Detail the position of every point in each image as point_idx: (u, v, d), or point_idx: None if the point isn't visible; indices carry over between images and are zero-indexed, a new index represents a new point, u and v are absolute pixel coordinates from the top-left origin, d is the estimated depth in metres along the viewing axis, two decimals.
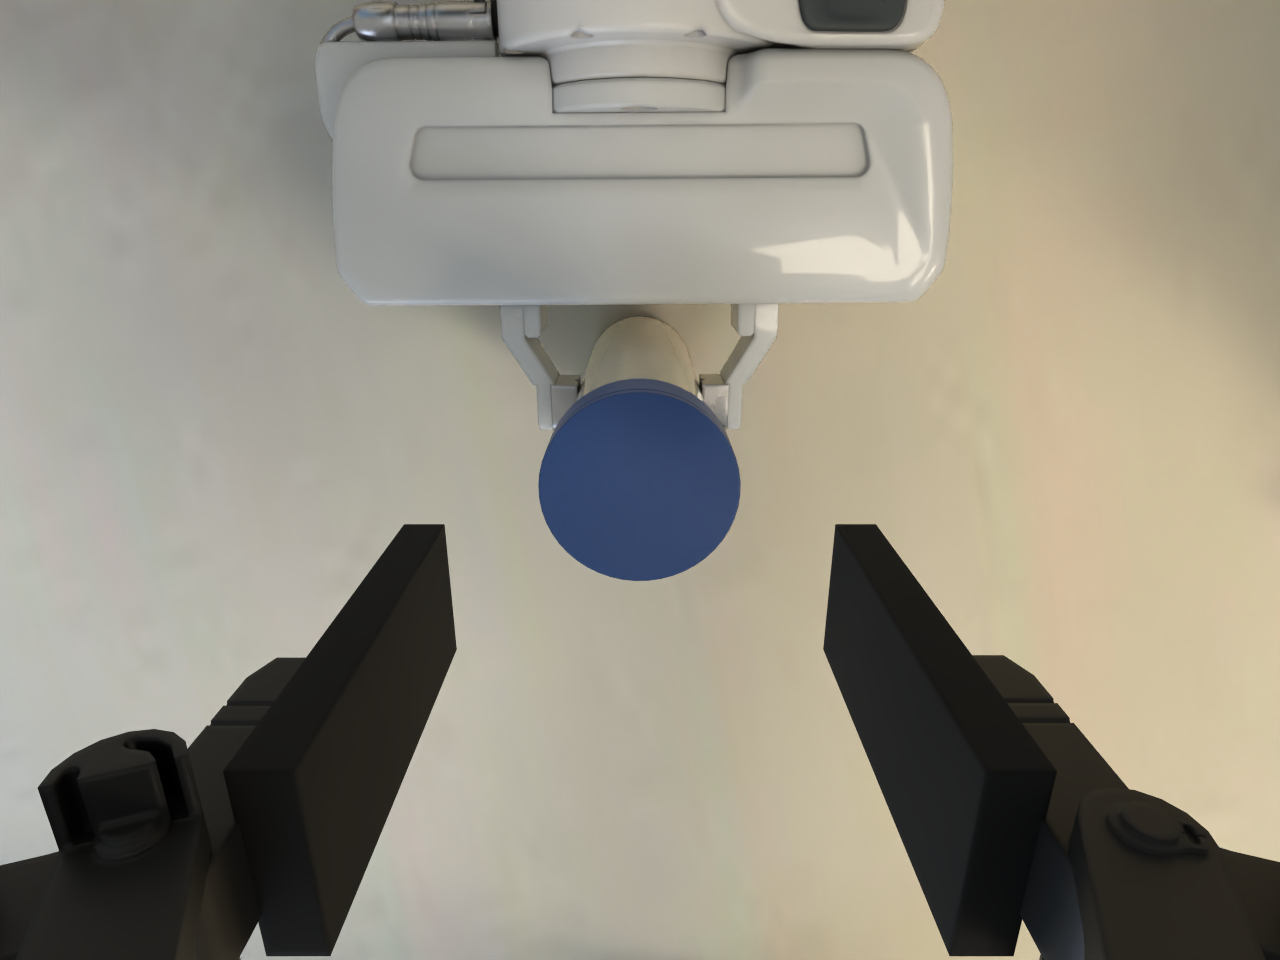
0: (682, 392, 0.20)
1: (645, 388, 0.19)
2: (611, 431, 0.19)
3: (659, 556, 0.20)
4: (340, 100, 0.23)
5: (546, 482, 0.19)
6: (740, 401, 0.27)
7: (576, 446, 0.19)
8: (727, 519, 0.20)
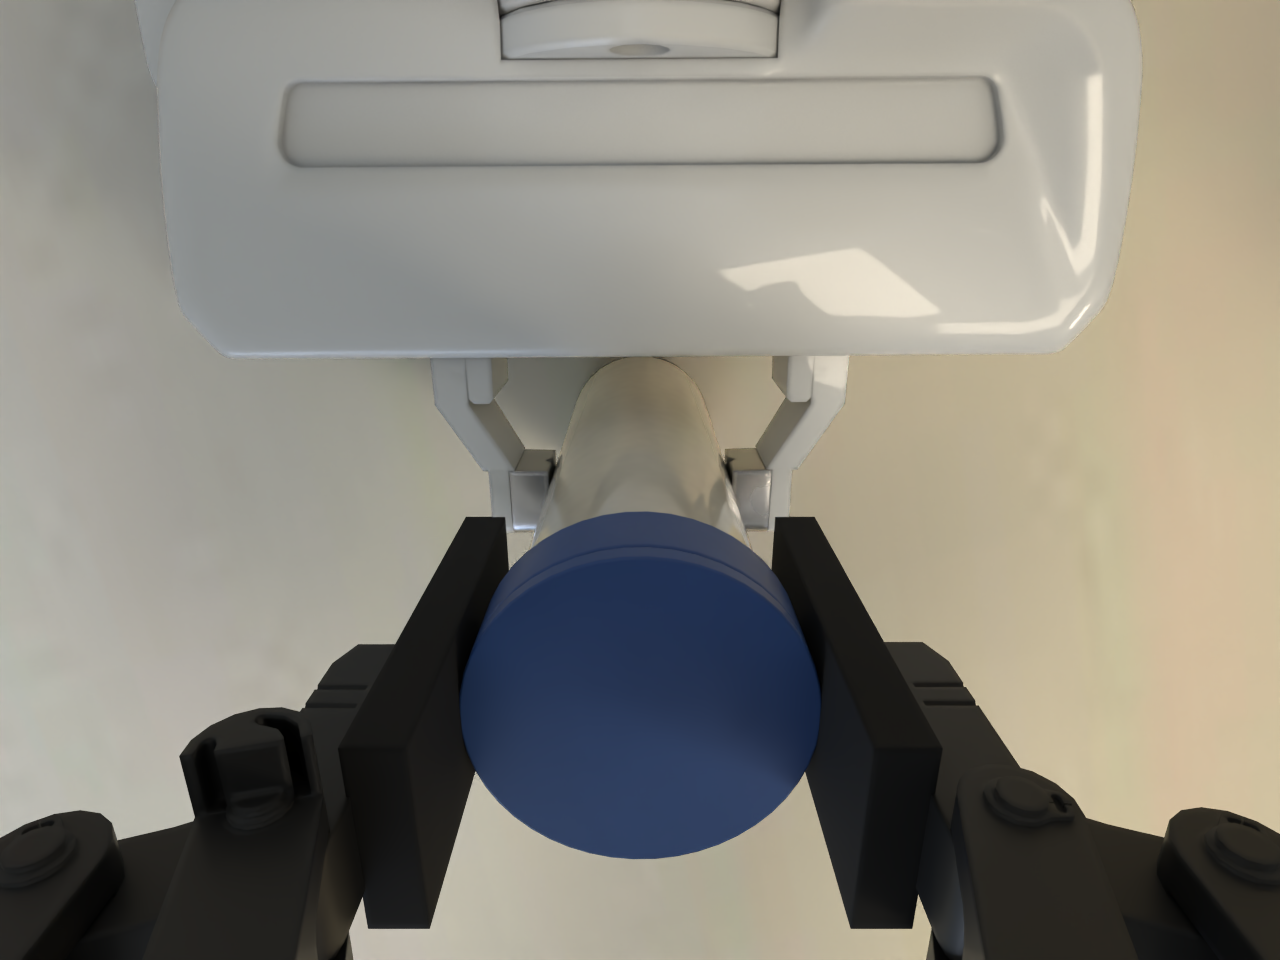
0: (717, 541, 0.11)
1: (651, 543, 0.10)
2: (589, 623, 0.10)
3: (675, 822, 0.11)
4: (163, 39, 0.14)
5: (472, 706, 0.11)
6: (788, 494, 0.18)
7: (525, 648, 0.10)
8: (796, 765, 0.11)
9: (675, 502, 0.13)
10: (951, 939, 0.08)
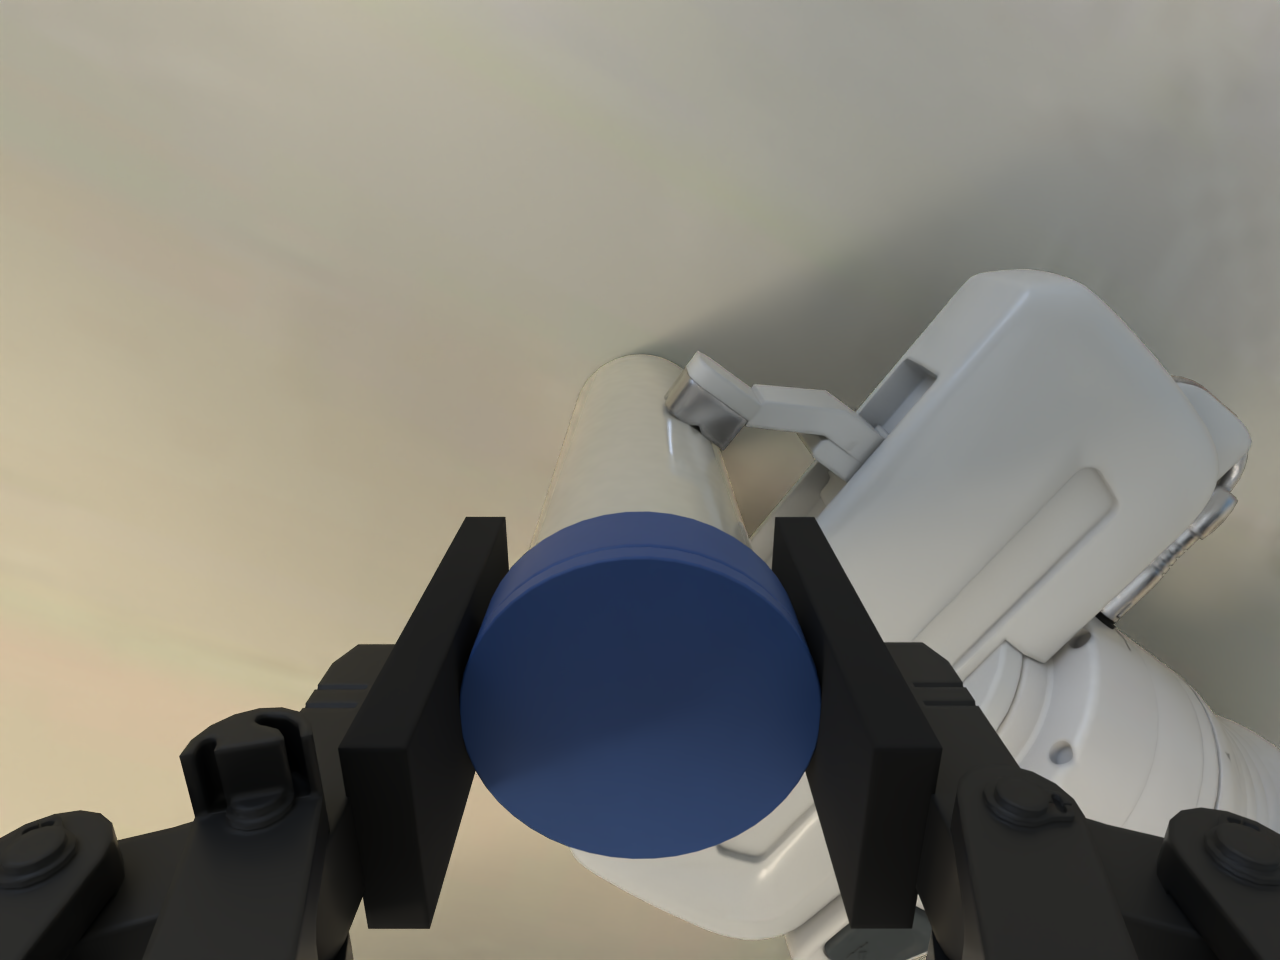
0: (718, 541, 0.11)
1: (652, 543, 0.10)
2: (589, 622, 0.10)
3: (675, 821, 0.11)
4: (1214, 449, 0.18)
5: (472, 706, 0.11)
6: None
7: (525, 647, 0.10)
8: (796, 766, 0.11)
9: None
10: (951, 939, 0.08)
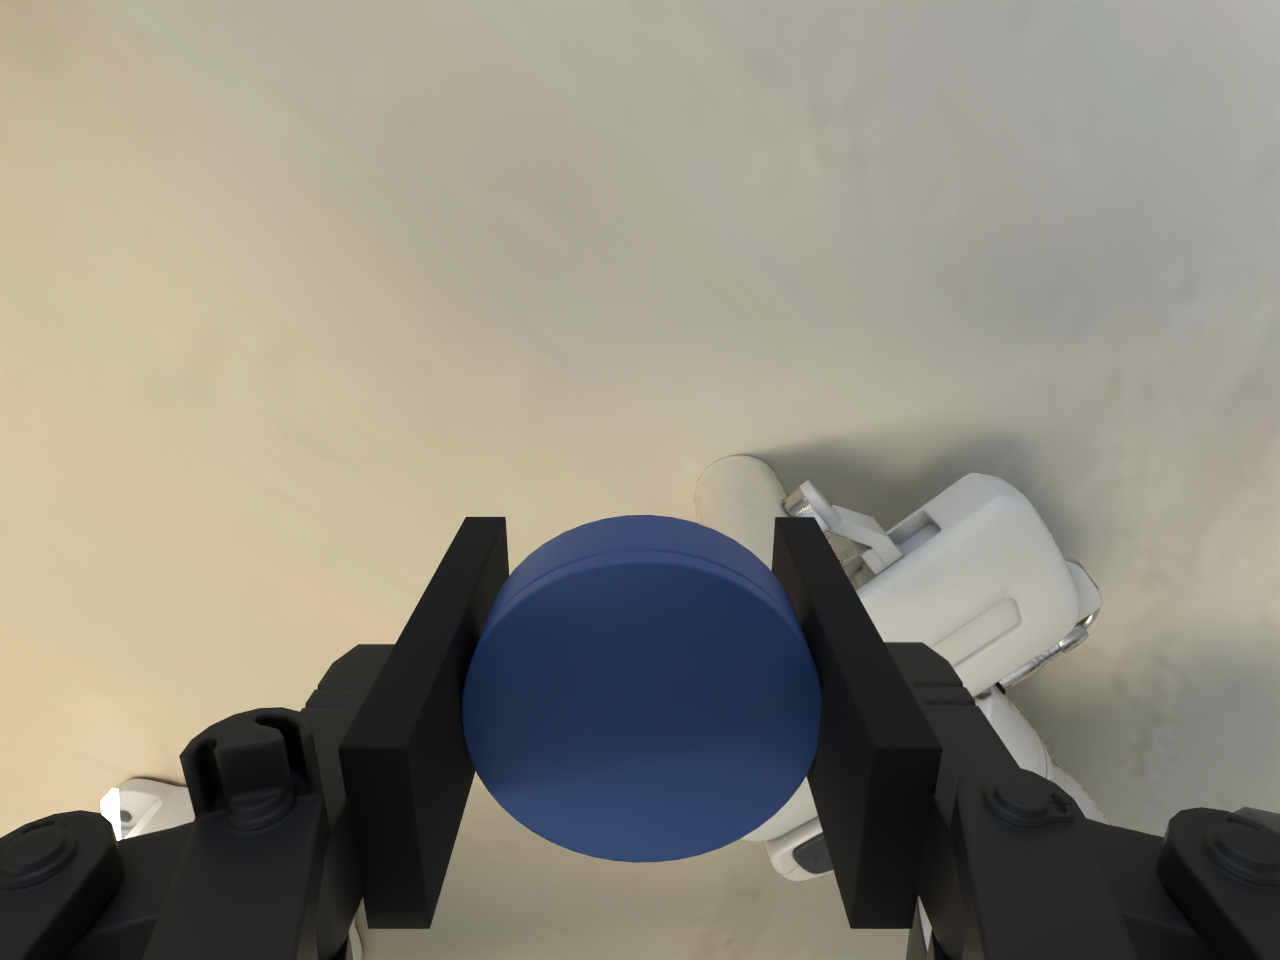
0: (719, 545, 0.11)
1: (653, 547, 0.10)
2: (591, 627, 0.10)
3: (678, 826, 0.11)
4: (1078, 604, 0.31)
5: (474, 710, 0.11)
6: None
7: (527, 652, 0.10)
8: (798, 769, 0.11)
9: None
10: (951, 939, 0.08)
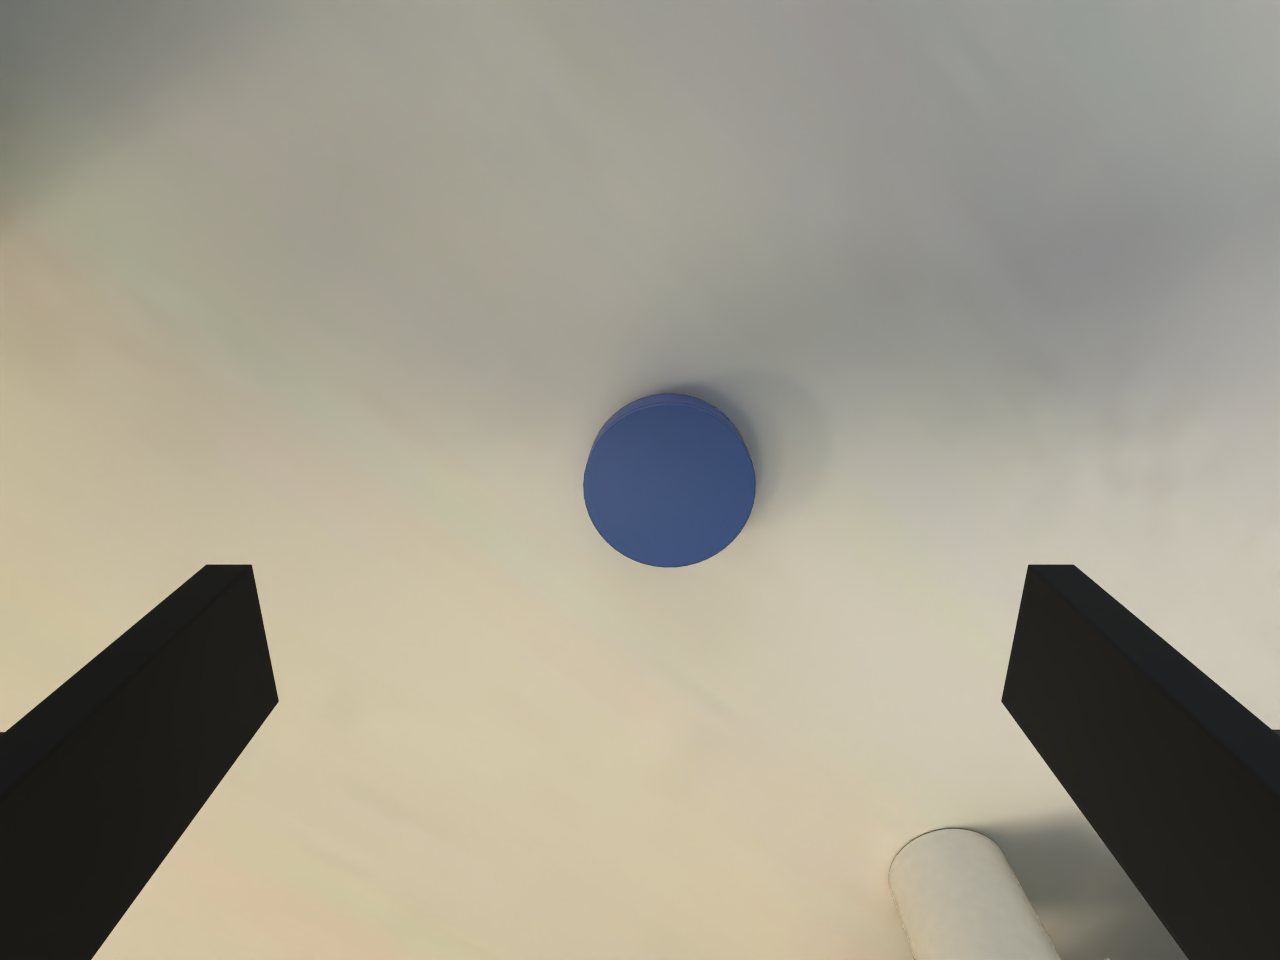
0: (706, 405, 0.23)
1: (674, 401, 0.22)
2: (646, 438, 0.22)
3: (685, 545, 0.23)
4: None
5: (590, 481, 0.23)
6: None
7: (616, 450, 0.22)
8: (744, 514, 0.23)
9: None
10: None
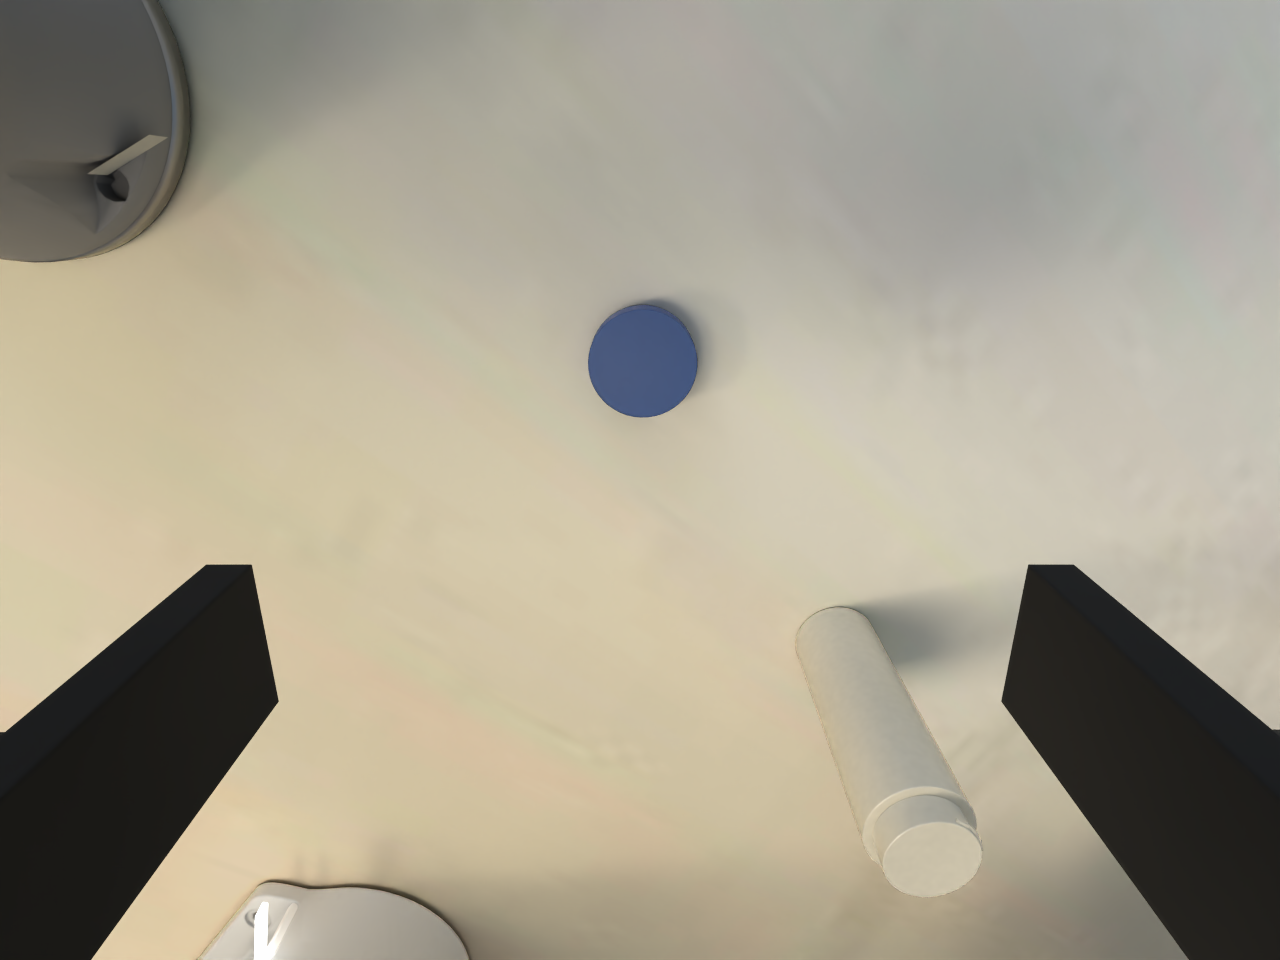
0: (665, 311, 0.36)
1: (645, 308, 0.35)
2: (627, 330, 0.35)
3: (654, 402, 0.37)
4: None
5: (592, 359, 0.36)
6: None
7: (609, 339, 0.36)
8: (690, 380, 0.36)
9: None
10: None
